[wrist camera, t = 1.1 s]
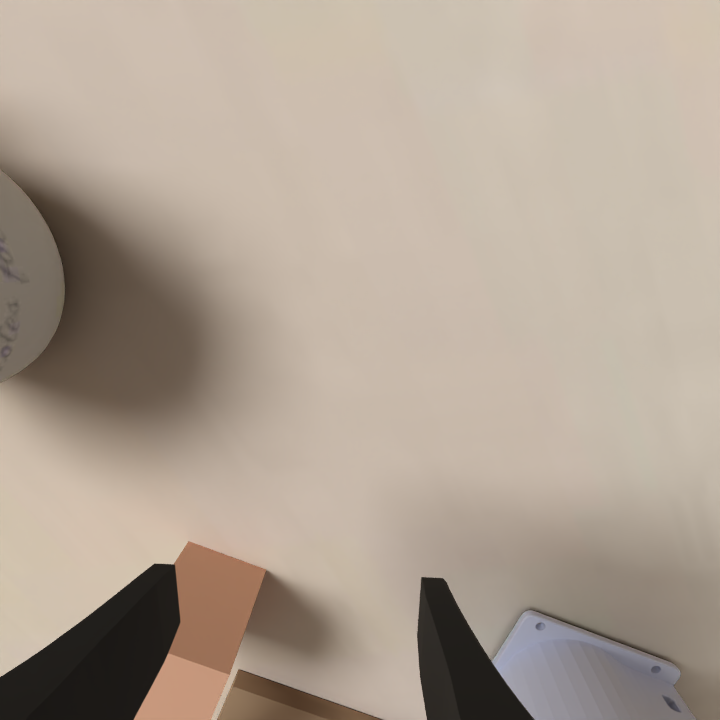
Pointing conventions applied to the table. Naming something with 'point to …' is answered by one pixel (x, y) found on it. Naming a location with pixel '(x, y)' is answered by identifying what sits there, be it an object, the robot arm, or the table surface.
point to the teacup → (26, 281)
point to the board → (279, 703)
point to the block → (203, 634)
